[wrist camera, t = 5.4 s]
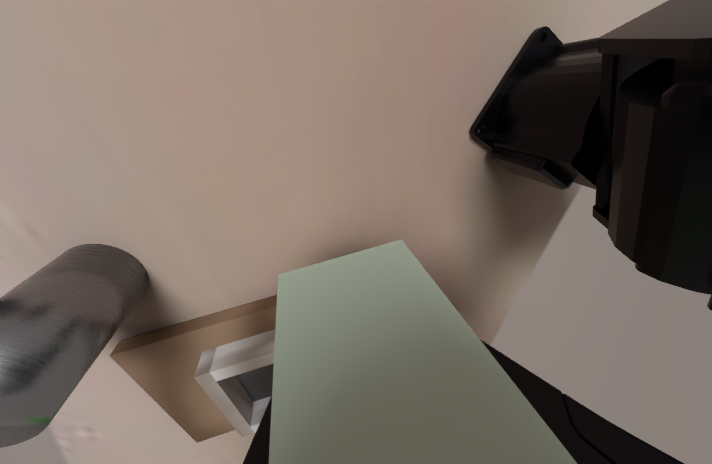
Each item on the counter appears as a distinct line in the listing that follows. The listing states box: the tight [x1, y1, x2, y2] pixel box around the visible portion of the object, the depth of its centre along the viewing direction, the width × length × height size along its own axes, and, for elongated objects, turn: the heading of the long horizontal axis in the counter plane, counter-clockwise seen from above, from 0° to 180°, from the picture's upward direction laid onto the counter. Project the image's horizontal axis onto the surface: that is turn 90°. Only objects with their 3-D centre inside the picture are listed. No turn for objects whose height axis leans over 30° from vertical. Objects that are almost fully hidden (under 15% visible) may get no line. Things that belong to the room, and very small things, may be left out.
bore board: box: [110, 295, 277, 442], centre depth 21 cm, size 18×12×3 cm, turn 101°
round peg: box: [0, 244, 148, 448], centre depth 13 cm, size 4×4×8 cm
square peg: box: [269, 239, 577, 464], centre depth 7 cm, size 4×4×8 cm
